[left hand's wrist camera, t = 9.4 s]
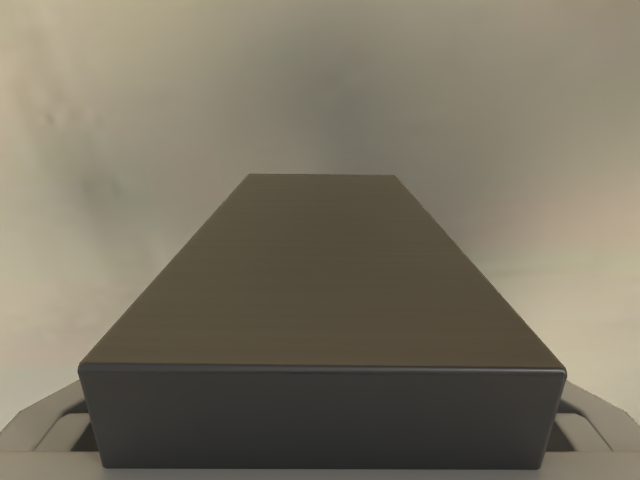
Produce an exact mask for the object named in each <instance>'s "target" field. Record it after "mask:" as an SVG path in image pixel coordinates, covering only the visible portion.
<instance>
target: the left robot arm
mask: <svg viewBox="0 0 640 480" xmlns="http://www.w3.org/2000/svg"><path fill="white" fill-rule="evenodd" d="M0 480H640V426H639V425H638V424H637V423H636V422H635V421H634V420H633V419H632V417H631V416H630V415H629V414H628V413H627V412H625V411H623V410H621V409H619V408H618V407H616V406H614V405H612V404H610V403H608V402H606V401H604V400H603V399H601V398H599V397H597V396H595V395H593V394H591V393H589V392H588V391H586V390H584V389H582V388H580V387H578V386H576V385H574V384H573V383H571V382H569V381H567V380H566V382H565V385H564V389H563V392H562V396H561V399H560V403H559V406H558V409H557V413H556V416H555V420H554V423H553V427H552V430H551V433H550V437H549V440H548V444H547V447H546V451H545V454H544V457H543V461H542V464H541V468H540V469H537V470H396V469H106V468H104V467H103V466H102V462H101V458H100V454H99V450H98V447H97V443H96V439H95V435H94V431H93V428H92V424H91V420H90V416H89V413H88V409H87V405H86V401H85V397H84V394H83V390H82V386H81V382H80V380H78V381H76V382H74V383H72V384H70V385H68V386H67V387H65V388H63V389H61V390H59V391H57V392H55V393H53V394H52V395H50V396H48V397H46V398H44V399H42V400H40V401H39V402H37V403H35V404H33V405H31V406H29V407H27V408H25V409H24V410H22V411H20V412H19V413H18V414H17V415H16V416H15V417H14V418H13V419H12V420H11V421H10V422H9V423H8V425H7V426H6V427H5V428H4V429H3V430H2V431H1V432H0Z"/></svg>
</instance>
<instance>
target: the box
mask: <svg viewBox="0 0 640 480" xmlns="http://www.w3.org/2000/svg"><path fill="white" fill-rule="evenodd" d="M78 375H79V378H80V382H81V386H82V390H83V394H84V397H85V401H86V405H87V409H88V413H89V416H90V420H91V424H92V428H93V431H94V435H95V439H96V443H97V447H98V450H99V454H100V458H101V462H102V466H103V467H104V468H106V469H396V470H537V469H540V468H541V464H542V461H543V457H544V454H545V451H546V447H547V444H548V440H549V437H550V433H551V430H552V427H553V423H554V420H555V416H556V413H557V409H558V406H559V403H560V399H561V396H562V392H563V389H564V385H565V382H566V379H567V371H566V368H565V367H564V366H563V364H562V363H561V362H560V361H559V360H558V359H557V358H556V357H555V355H554V354H553V353H552V352H551V351H550V350H549V349H548V348H547V346H546V345H545V344H544V343H543V342H542V341H541V340H540V338H539V337H538V336H537V335H536V334H535V333H534V332H533V331H532V329H531V328H530V327H529V326H528V325H527V324H526V323H525V322H524V320H523V319H522V318H521V317H520V316H519V315H518V314H517V313H516V311H515V310H514V309H513V308H512V307H511V306H510V305H509V303H508V302H507V301H506V300H505V299H504V298H503V297H502V296H501V294H500V293H499V292H498V291H497V290H496V289H495V288H494V287H493V285H492V284H491V283H490V282H489V281H488V280H487V279H486V278H485V276H484V275H483V274H482V273H481V272H480V271H479V270H478V269H477V267H476V266H475V265H474V264H473V263H472V262H471V261H470V259H469V258H468V257H467V256H466V255H465V254H464V253H463V252H462V250H461V249H460V248H459V247H458V246H457V245H456V244H455V243H454V241H453V240H452V239H451V238H450V237H449V236H448V235H447V234H446V232H445V231H444V230H443V229H442V228H441V227H440V226H439V225H438V223H437V222H436V221H435V220H434V219H433V218H432V217H431V215H430V214H429V213H428V212H427V211H426V210H425V209H424V208H423V206H422V205H421V204H420V203H419V202H418V201H417V200H416V199H415V197H414V196H413V195H412V194H411V193H410V192H409V191H408V190H407V188H406V187H405V186H404V185H403V184H402V183H401V182H400V181H399V179H398V178H397V177H396V176H395V175H330V174H248V175H247V177H246V178H245V179H244V180H243V181H242V182H241V183H240V184H239V186H238V187H237V188H236V189H235V190H234V191H233V192H232V193H231V194H230V196H229V197H228V198H227V199H226V200H225V201H224V202H223V203H222V205H221V206H220V207H219V208H218V209H217V210H216V211H215V212H214V213H213V215H212V216H211V217H210V218H209V219H208V220H207V221H206V222H205V224H204V225H203V226H202V227H201V228H200V229H199V230H198V231H197V232H196V234H195V235H194V236H193V237H192V238H191V239H190V240H189V241H188V243H187V244H186V245H185V246H184V247H183V248H182V249H181V250H180V251H179V253H178V254H177V255H176V256H175V257H174V258H173V259H172V260H171V262H170V263H169V264H168V265H167V266H166V267H165V268H164V269H163V270H162V272H161V273H160V274H159V275H158V276H157V277H156V278H155V279H154V281H153V282H152V283H151V284H150V285H149V286H148V287H147V288H146V289H145V291H144V292H143V293H142V294H141V295H140V296H139V297H138V298H137V300H136V301H135V302H134V303H133V304H132V305H131V306H130V307H129V308H128V310H127V311H126V312H125V313H124V314H123V315H122V316H121V317H120V319H119V320H118V321H117V322H116V323H115V324H114V325H113V326H112V327H111V329H110V330H109V331H108V332H107V333H106V334H105V335H104V336H103V338H102V339H101V340H100V341H99V342H98V343H97V344H96V345H95V347H94V348H93V349H92V350H91V351H90V352H89V353H88V354H87V355H86V357H85V358H84V359H83V360H82V361H81V362H80V364H79V366H78Z"/></svg>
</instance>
